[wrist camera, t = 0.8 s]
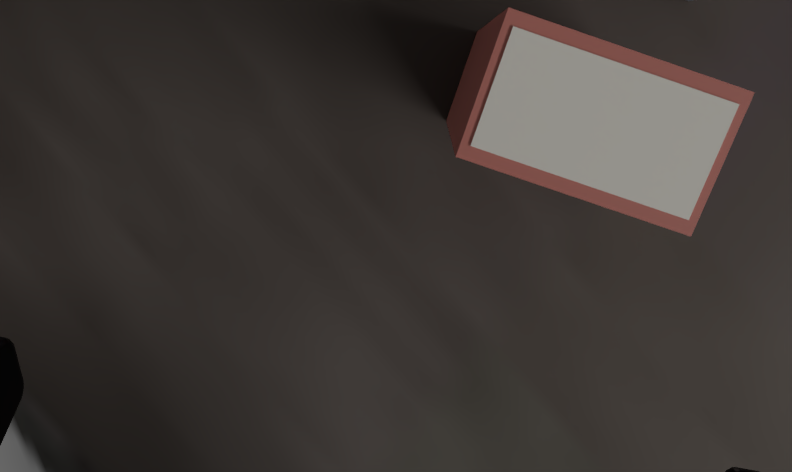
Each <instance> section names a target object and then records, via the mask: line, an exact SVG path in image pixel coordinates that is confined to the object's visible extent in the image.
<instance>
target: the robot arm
mask: <svg viewBox="0 0 792 472" xmlns="http://www.w3.org/2000/svg"><path fill="white" fill-rule="evenodd" d="M23 389H24V383H23V377H22V373H21V370H20V366H19V362H18V358H17V354H16V350H15V347H14V344H13V343H12V342H11V341H10V340H9V339H7V338H4V337H0V445H1V443H2V441H3V438H4V436H5V434H6V432H7V429H8V427H9V425H10V423H11V421H12V418H13V416H14V414H15V412H16V410H17V407H18V405H19V403H20V401H21V398H22V394H23ZM725 472H759V471H754V470H749V469H743V468H737V467H732V468H730V469H728V470H726V471H725Z"/></svg>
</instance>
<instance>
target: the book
mask: <svg viewBox="0 0 792 472" xmlns="http://www.w3.org/2000/svg"><path fill="white" fill-rule="evenodd" d="M754 93H755V92H752V91H749V90H746V89H743V88H740V87H737V86H734V85H732V84H729V83H726V82H723V81H720V80H717V79H714V78H711V77H708V76H706V75H703V74H700V73H697V72H694V71H691V70H688V69H685V68H682V67H680V66H677V65H674V64H671V63H668V62H665V61H662V60H659V59H656V58H654V57H651V56H648V55H645V54H642V53H639V52H636V51H633V50H630V49H628V48H625V47H622V46H619V45H616V44H613V43H610V42H607V41H604V40H602V39H599V38H596V37H593V36H590V35H587V34H584V33H581V32H578V31H576V30H573V29H570V28H567V27H564V26H561V25H558V24H555V23H552V22H550V21H547V20H544V19H541V18H538V17H535V16H532V15H529V14H526V13H523V12H521V11H518V10H515V9H512V8H509V7H508V8H507V9H506V10H504V11H503V12H502V13H501V14H499V15H498V16H497V17H495V18H494V19H493V20H492V21H490V22H489V23H488V24H486V25H485V26H484V27H482V28H481V29H480V30H479V31H477V33H476V36H475V39H474V42H473V45H472V48H471V51H470V53H469V56H468V59H467V62H466V65H465V68H464V71H463V74H462V77H461V79H460V82H459V85H458V88H457V91H456V94H455V97H454V100H453V103H452V105H451V108H450V111H449V114H448V117H447V120H446V122H447V126H448V129H449V133H450V137H451V141H452V145H453V148H454V152H455V156H456V157H458V158H461V159H464V160H467V161H470V162H473V163H476V164H479V165H481V166H484V167H487V168H490V169H493V170H496V171H499V172H502V173H505V174H508V175H511V176H514V177H517V178H520V179H523V180H526V181H529V182H532V183H534V184H537V185H540V186H543V187H546V188H549V189H552V190H555V191H558V192H561V193H564V194H567V195H570V196H573V197H576V198H579V199H582V200H585V201H587V202H590V203H593V204H596V205H599V206H602V207H605V208H608V209H611V210H614V211H617V212H620V213H623V214H626V215H629V216H632V217H635V218H638V219H641V220H643V221H646V222H649V223H652V224H655V225H658V226H661V227H664V228H667V229H670V230H673V231H676V232H679V233H682V234H685V235H688V236H691V235H692V233H693V231H694V229H695V226H696V224H697V222H698V220H699V217H700V215H701V213H702V211H703V208H704V206H705V204H706V201H707V199H708V197H709V195H710V192H711V190H712V188H713V186H714V183H715V181H716V179H717V177H718V174H719V172H720V170H721V168H722V165H723V163H724V161H725V158H726V156H727V154H728V152H729V149H730V147H731V145H732V143H733V140H734V138H735V136H736V134H737V131H738V129H739V127H740V125H741V122H742V120H743V118H744V115H745V113H746V111H747V109H748V106H749V104H750V102H751V100H752V97H753V95H754Z"/></svg>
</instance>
